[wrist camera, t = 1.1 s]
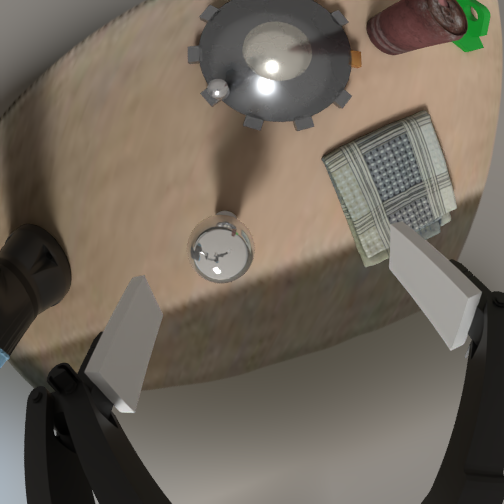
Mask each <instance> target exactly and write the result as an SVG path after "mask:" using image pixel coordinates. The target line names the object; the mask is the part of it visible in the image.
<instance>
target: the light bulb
mask: <svg viewBox="0 0 504 504" xmlns="http://www.w3.org/2000/svg"><path fill="white" fill-rule="evenodd" d="M187 254H188V259H189V262H190V264H191V266H192V268H193V269H194V271H195V272H196V273H197V274H198V275H199V276H201V277H202V278H204V279H205V280H208V281H210V282H214V283H228V282H232V281H234V280H236V279H238V278H240V277H241V276H243V275H244V274H245V273H246V272H247V270H248V269H249V267H250V266H251V264H252V262H253V259H254V254H255V243H254V239H253V236H252V234H251V232H250V230H249V229H248V228H247V226H246V225H245V224H244V223H242V222H241V221H240V220H238V219H237V217H236V216H235V215H234V214H233V213H232V212H229V211H220V212H218V213H217V214H215V215H214V216H210V217H208V218H206V219H204V220H202V221H201V222H199V223H198V224H197V225H196V227H195V228H194V229H193V230H192V232H191V234H190V236H189V239H188V243H187Z"/></svg>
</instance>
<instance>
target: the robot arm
mask: <svg viewBox="0 0 504 504" xmlns="http://www.w3.org/2000/svg"><path fill="white" fill-rule="evenodd" d="M389 269H390V270H391V271H392V273H393V274H394V275H395V276H396V277H397V279H398V280H399V281H400V282H401V284H402V285H403V286H404V287H405V289H406V290H407V291H408V292H409V294H410V295H411V296H412V298H413V299H414V300H415V302H416V303H417V304H418V306H419V307H420V308H421V310H422V311H423V312H424V314H425V315H426V316H427V318H428V319H429V320H430V322H431V323H432V325H433V326H434V327H435V329H436V330H437V332H439V334H440V336H441V337H442V339H443V340H444V341H445V343H446V345H447V346H448V347H449V349H450V350H453V349H455V348H457V347H459V346H461V345H463V344H464V343H465V340H466V338H467V335H468V334H469V336H470V337H471V339H472V341H471V343H470V345H469V348H468V350H467V353H466V355H465V357H466V358H467V356H468V354H469V356H468V363H467V370H466V376H465V381H464V387H463V392H462V396H461V401H460V405H459V409H458V413H457V417H456V421H455V425H454V428H453V431H452V435H451V438H450V441H449V444H448V448H447V451H446V453H445V456H444V459H443V461H442V464H441V467H440V469H439V472H438V474H437V477H436V479H435V481H434V484H433V486H432V488H431V490H430V492H429V493H428V495H427V496H426V497H425V499H424V500H423V502H422V503H421V504H502V502H503V500H504V474H503V470H504V293H502V292H499V291H498V292H495V291H494V292H491V291H490V290H489V289H488V288H487V287H486V286H485V285H484V284H483V283H482V282H480V281H479V280H478V279H477V278H476V277H475V276H473V274H472V273H471V272H470V271H468V269H467V268H466V267H464V266H463V265H462V264H461V263H459V262H457V261H455V260H453V259H451V260H448V259H447V258H446V257H444V256H443V255H442V254H441V253H440V252H439V251H438V250H437V249H435V248H434V247H433V246H432V245H431V244H430V243H428V242H427V241H426V240H425V239H424V238H422V237H421V236H420V235H419V234H418V233H416V232H415V231H414V230H413V229H411V228H410V227H409V226H408V225H406V224H405V223H404V222H403V221H402V222H397V223H393V224H390V264H389ZM70 285H71V272H70V267H69V264H68V261H67V258H66V256H65V254H64V252H63V250H62V249H61V247H60V246H59V244H58V243H57V242H56V240H55V239H54V238H53V237H52V236H51V235H50V234H49V233H48V232H47V231H45V230H44V229H42V228H40V227H38V226H36V225H32V224H26V225H22V226H20V227H19V228H17V229H16V230H15V231H13V232H12V233H11V234H10V235H9V237H8V238H7V240H6V242H5V245H4V246H3V247H2V249H1V250H0V368H1V367H2V366H3V364H4V363H5V362H6V360H8V359H9V356H10V355H11V353H12V352H13V350H14V349H15V347H16V345H17V344H18V342H19V341H20V339H21V338H22V336H23V335H24V333H25V332H26V331H27V329H28V328H29V326H30V325H31V323H32V322H33V321H34V319H35V318H36V317H37V315H38V314H40V313H42V312H43V311H45V310H46V309H48V308H49V307H52V306H54V305H56V304H58V303H59V302H60V301H61V300H62V299H63V298H64V297H65V295H66V294H67V293H68V291H69V289H70ZM162 317H163V314H162V312H161V310H160V308H159V305H158V303H157V301H156V299H155V297H154V295H153V293H152V291H151V289H150V286H149V284H148V282H147V280H146V278H145V275H143V276H138V277H133V278H132V279H131V281H130V283H129V285H128V286H127V288H126V290H125V292H124V294H123V295H122V297H121V299H120V301H119V303H118V305H117V306H116V308H115V310H114V312H113V314H112V316H111V318H110V320H109V322H108V324H107V326H106V328H105V330H104V331H103V332H100V333H99V334H98V336H97V337H96V338H95V339H94V340H93V342H92V344H91V346H90V349H89V351H88V353H87V355H86V357H85V359H84V361H83V363H82V365H81V367H80V369H79V372H78V374H77V373H76V372H75V371H74V370H73V369H72V367H71V366H70V365H69V364H68V363H60V364H58V365H56V366H55V367H54V368H53V369H52V370H51V371H50V372H49V374H48V377H47V382H48V383H49V385H50V386H51V387H52V388H53V389H54V390H55V391H56V392H52V393H50V392H49V391H48V390H47V389H46V388H45V387H43V386H39V387H37V388H35V389H33V391H31V393H30V395H29V397H28V400H27V409H26V422H25V441H24V444H25V445H24V467H25V486H26V496H27V504H95V500H94V496H93V492H94V494H95V496H96V498H97V500H98V502H99V504H172V503H171V502H170V501H169V499H168V498H167V497H166V496H165V494H164V493H163V491H162V490H161V489H160V487H159V486H158V485H157V483H156V482H155V480H154V479H153V478H152V476H151V475H150V473H149V472H148V470H147V469H146V467H145V466H144V465H143V463H142V461H141V460H140V458H139V456H138V455H137V453H136V452H135V450H134V448H133V447H132V445H131V443H130V441H129V440H128V438H127V436H126V435H125V433H124V431H123V429H122V427H121V425H120V424H119V422H118V420H117V418H116V416H115V415H114V414H113V412H112V411H111V410H112V407H113V405H114V406H115V407H116V408H117V409H118V410H119V411H120V412H126V413H127V412H128V413H135V411H136V407H137V403H138V399H139V395H140V391H141V388H142V384H143V380H144V377H145V373H146V370H147V366H148V363H149V359H150V356H151V353H152V349H153V346H154V343H155V339H156V336H157V333H158V330H159V326H160V323H161V320H162ZM54 430H56V433H57V435H56V436H55V435H54ZM92 490H93V492H92Z"/></svg>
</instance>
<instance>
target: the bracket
mask: <svg viewBox="0 0 504 504" xmlns="http://www.w3.org/2000/svg"><path fill="white" fill-rule="evenodd" d="M456 1H457V2H458V3H459V5H460V6H461V7H462V9H463V11H464V13H465V15H466V18H467V22H468V30H467V32H466V34H465V35H464V36H463V37H462V38H461V39H460V40H457V41H452V42H453V43H454V44H455V45H457V46H458V47H459V48H461V49H462V50H463V51H464V52H469V51H473V50H477V49H480V48H484V47H483V45H482V43H481V40H480V38H479V36H484V35H487V31H488V26H489V21H490V12H489V10H488V9H487V8H486V7H485V6H484V5H482V4H481V3H479V2H478V1H476V0H456ZM471 7H473V8H474V9H475V10H476V12H477V14H478V19H476V18H475V17H474V16H473V15H472V13H471Z"/></svg>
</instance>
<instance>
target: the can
mask: <svg viewBox="0 0 504 504" xmlns="http://www.w3.org/2000/svg"><path fill="white" fill-rule="evenodd" d="M467 30H468V22H467V18H466V15H465V13H464V11H463V9H462V7H461V6H460V5H459V3H458V2H457V1H456V0H400V1H399V2H397V3H395V4H394V5H392V6H390V7H388V8H387V9H385V10H383V11H382V12H380V13H379V14H377V15H375V16H374V17H372V18H371V19H370V20H369V22H368V24H367V33H368V36H369V38H370V40H371V42H372V43H373V44H374V45H375V46H376V47H377V48H378V49H379V50H381V51H382V52H384V53H386V54H390V55H398V54H402V53H405V52H409V51H413V50H416V49H420V48H424V47H429V46H433V45H437V44H442V43H447V42H452V41H457V40H460V39H461V38H462V37H463V36H464V35H465V34H466V32H467Z"/></svg>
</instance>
